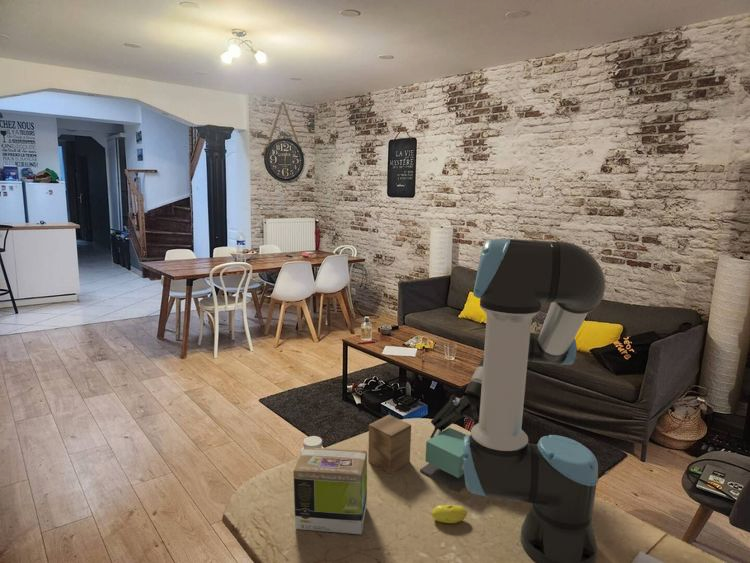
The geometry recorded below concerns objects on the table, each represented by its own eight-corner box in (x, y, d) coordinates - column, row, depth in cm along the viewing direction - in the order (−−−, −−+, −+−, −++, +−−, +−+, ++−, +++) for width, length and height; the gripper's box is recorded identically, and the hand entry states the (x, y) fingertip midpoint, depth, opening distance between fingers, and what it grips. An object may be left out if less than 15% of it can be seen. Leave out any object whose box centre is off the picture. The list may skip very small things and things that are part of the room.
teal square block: (480, 461, 130) (481, 441, 128) (458, 478, 122) (459, 457, 121) (448, 446, 137) (449, 427, 135) (425, 461, 129) (426, 441, 128)
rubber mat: (484, 471, 130) (484, 469, 130) (458, 492, 122) (458, 489, 122) (446, 453, 138) (446, 451, 138) (420, 471, 130) (420, 469, 130)
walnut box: (409, 461, 134) (411, 424, 132) (390, 474, 128) (391, 435, 126) (388, 450, 139) (389, 414, 137) (368, 461, 134) (368, 424, 131)
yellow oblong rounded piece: (430, 513, 114) (431, 498, 113) (465, 515, 114) (466, 500, 113) (432, 526, 110) (432, 511, 109) (468, 528, 110) (469, 513, 109)
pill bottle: (317, 469, 130) (317, 431, 127) (329, 481, 125) (330, 442, 122) (296, 478, 126) (295, 438, 124) (308, 490, 121) (307, 450, 119)
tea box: (367, 506, 116) (368, 449, 113) (361, 536, 106) (362, 475, 103) (304, 500, 118) (303, 444, 114) (293, 530, 108) (292, 470, 105)
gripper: (525, 406, 130) (489, 486, 122) (453, 380, 145) (417, 449, 137) (517, 394, 125) (479, 476, 117) (443, 368, 140) (406, 439, 132)
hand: (446, 461), depth 127 cm, fingers closed on teal square block, 10 cm apart
